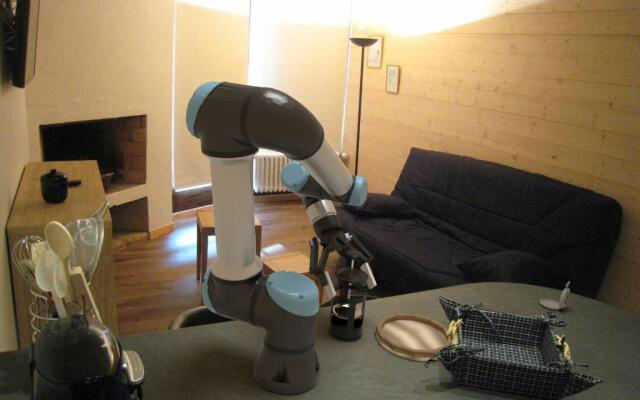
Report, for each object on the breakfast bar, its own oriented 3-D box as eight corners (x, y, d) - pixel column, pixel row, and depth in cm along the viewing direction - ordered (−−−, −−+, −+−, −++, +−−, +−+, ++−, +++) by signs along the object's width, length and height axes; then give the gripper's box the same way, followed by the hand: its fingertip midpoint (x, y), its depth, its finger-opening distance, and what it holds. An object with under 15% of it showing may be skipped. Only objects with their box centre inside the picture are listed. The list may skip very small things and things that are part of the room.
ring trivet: (413, 369, 126) (415, 360, 126) (360, 331, 142) (361, 323, 141) (467, 348, 138) (469, 340, 137) (413, 315, 153) (414, 307, 153)
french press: (367, 342, 136) (377, 260, 130) (331, 343, 135) (340, 260, 128) (356, 320, 148) (365, 243, 141) (323, 320, 146) (331, 243, 140)
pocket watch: (536, 299, 171) (543, 271, 169) (563, 303, 170) (570, 275, 168) (543, 311, 164) (550, 282, 161) (571, 315, 163) (578, 285, 160)
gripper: (352, 220, 154) (380, 288, 147) (280, 231, 140) (307, 306, 132) (366, 208, 149) (396, 277, 141) (292, 218, 134) (321, 296, 127)
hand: (353, 292), depth 137 cm, fingers open, 13 cm apart
